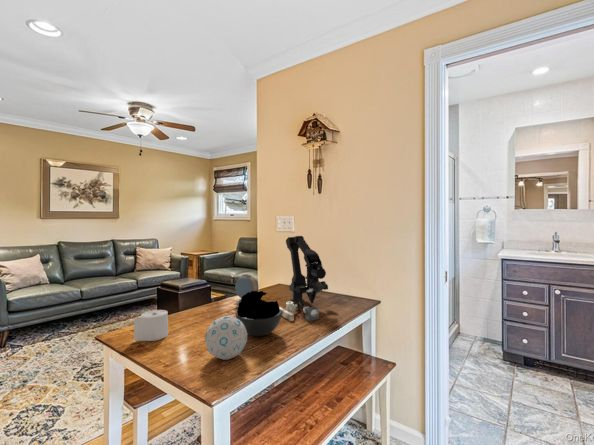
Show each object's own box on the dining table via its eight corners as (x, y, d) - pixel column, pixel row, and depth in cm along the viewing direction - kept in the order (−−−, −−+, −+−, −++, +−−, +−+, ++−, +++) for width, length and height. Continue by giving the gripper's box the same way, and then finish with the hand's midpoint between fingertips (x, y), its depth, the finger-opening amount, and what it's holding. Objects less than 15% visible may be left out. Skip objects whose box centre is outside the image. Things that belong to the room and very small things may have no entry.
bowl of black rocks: (257, 323, 147) (257, 284, 147) (291, 332, 136) (290, 290, 135) (226, 336, 131) (225, 293, 130) (260, 348, 119) (260, 301, 119)
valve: (292, 317, 155) (304, 311, 166) (292, 304, 155) (304, 299, 165) (282, 315, 159) (294, 309, 169) (282, 302, 159) (294, 297, 169)
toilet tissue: (173, 332, 136) (172, 310, 136) (155, 343, 124) (155, 319, 124) (152, 330, 138) (151, 309, 138) (133, 341, 126) (132, 317, 126)
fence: (273, 311, 165) (273, 305, 165) (276, 310, 166) (276, 305, 166) (290, 321, 150) (290, 315, 150) (293, 320, 151) (293, 314, 151)
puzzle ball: (196, 360, 110) (196, 319, 109) (226, 345, 123) (226, 308, 122) (227, 371, 102) (226, 327, 101) (255, 354, 115) (255, 314, 114)
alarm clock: (261, 303, 180) (261, 273, 179) (250, 308, 171) (250, 276, 171) (243, 300, 187) (243, 271, 187) (232, 304, 179) (231, 274, 178)
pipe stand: (301, 317, 155) (301, 306, 155) (310, 315, 158) (310, 304, 158) (309, 321, 149) (309, 310, 148) (319, 319, 152) (319, 308, 152)
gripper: (305, 280, 158) (305, 309, 158) (334, 276, 167) (334, 304, 167) (294, 276, 167) (294, 304, 168) (322, 272, 177) (322, 299, 177)
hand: (311, 303), depth 170 cm, fingers closed
